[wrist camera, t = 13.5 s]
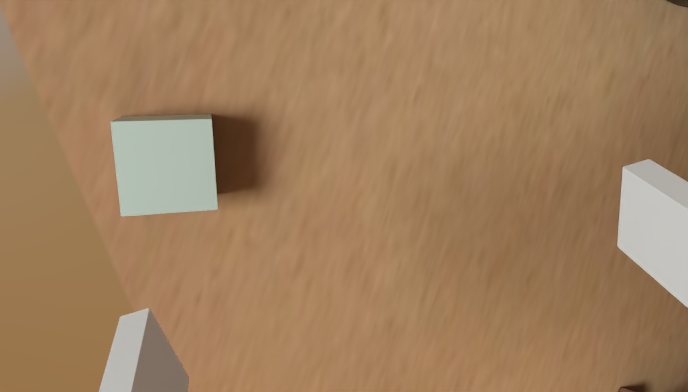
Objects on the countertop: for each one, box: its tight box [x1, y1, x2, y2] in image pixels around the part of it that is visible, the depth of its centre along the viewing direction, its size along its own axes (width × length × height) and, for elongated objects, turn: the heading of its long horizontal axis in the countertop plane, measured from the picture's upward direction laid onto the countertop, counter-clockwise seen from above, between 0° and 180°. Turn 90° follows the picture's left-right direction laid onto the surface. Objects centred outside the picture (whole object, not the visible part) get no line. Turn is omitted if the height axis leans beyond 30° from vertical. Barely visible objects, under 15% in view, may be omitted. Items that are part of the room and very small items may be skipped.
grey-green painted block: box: [111, 114, 218, 216], centre depth 29 cm, size 5×5×4 cm
